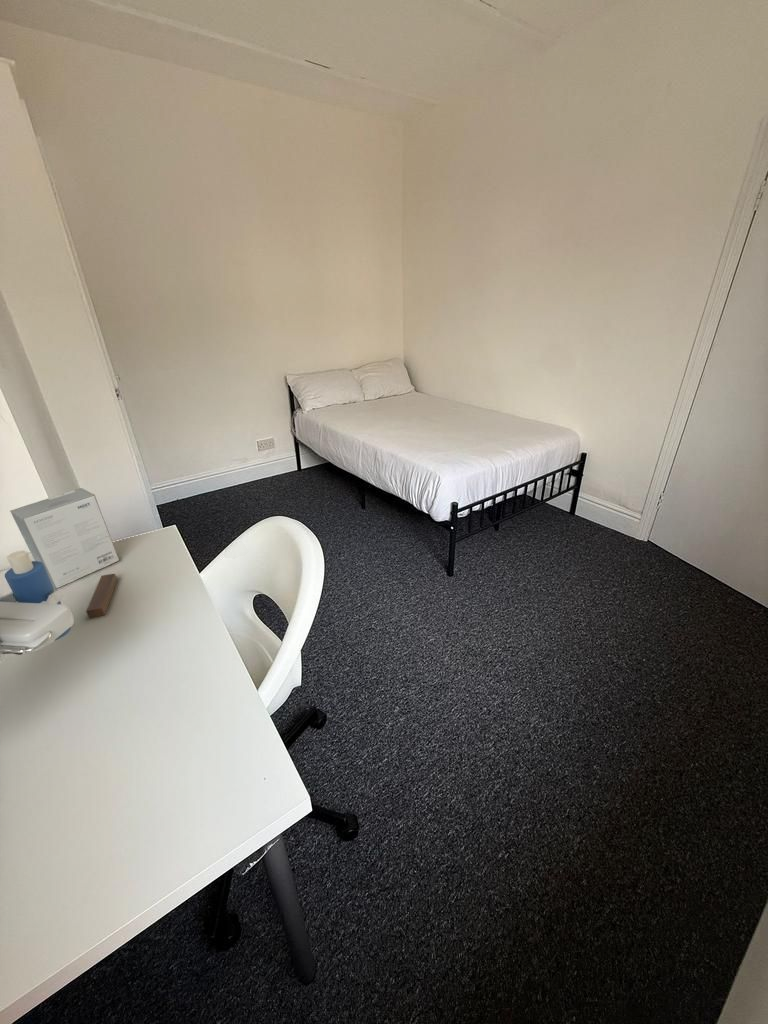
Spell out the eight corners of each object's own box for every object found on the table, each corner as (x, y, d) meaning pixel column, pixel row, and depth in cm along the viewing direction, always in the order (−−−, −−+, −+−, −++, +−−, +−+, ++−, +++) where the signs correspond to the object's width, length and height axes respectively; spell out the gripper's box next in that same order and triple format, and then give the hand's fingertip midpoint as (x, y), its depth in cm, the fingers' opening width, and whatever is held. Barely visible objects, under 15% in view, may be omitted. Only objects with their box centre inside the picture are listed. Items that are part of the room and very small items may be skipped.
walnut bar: (88, 618, 92) (85, 611, 91) (103, 582, 104) (101, 575, 103) (104, 615, 93) (101, 608, 92) (117, 579, 105) (114, 573, 104)
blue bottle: (32, 645, 74) (-10, 566, 66) (42, 626, 78) (4, 549, 70) (66, 638, 75) (29, 560, 67) (74, 620, 79) (41, 544, 72)
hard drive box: (107, 552, 116) (83, 487, 107) (120, 561, 112) (96, 493, 103) (42, 579, 105) (8, 509, 96) (54, 590, 101) (20, 518, 92)
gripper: (22, 638, 59) (90, 579, 71) (-109, 631, 60) (-20, 575, 73) (39, 669, 62) (102, 608, 74) (-87, 662, 63) (-5, 603, 76)
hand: (41, 591), depth 73 cm, fingers closed on blue bottle, 5 cm apart
